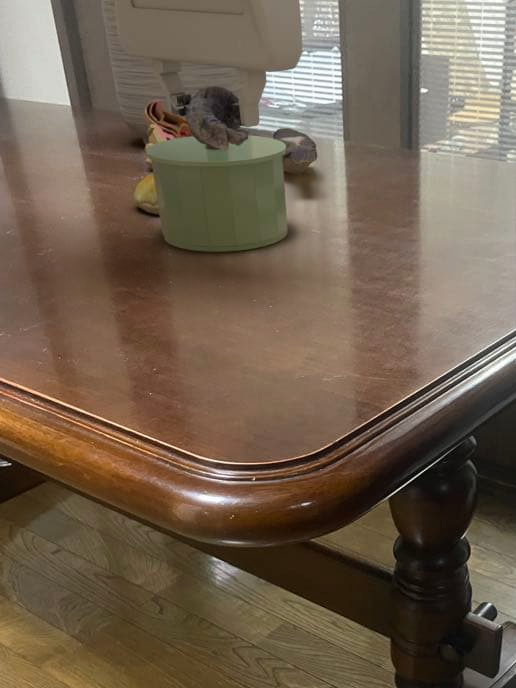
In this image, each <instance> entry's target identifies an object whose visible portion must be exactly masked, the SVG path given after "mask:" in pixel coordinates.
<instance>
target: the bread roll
mask: <svg viewBox="0 0 516 688" xmlns="http://www.w3.org/2000/svg"><path fill="white" fill-rule="evenodd" d="M133 198H134V199H133V200H134V203H135V205H136V206H137V207H138V208H139V209H141V210H143V211H144V212H147V213H149V214H152V215H157V216H158V215H159V216H160V214H159V208H158V201H157V195H156V188H155V181H154V175H153V173H151V174H149V175H147V176H146V177H145V178H143V179H142V180H141V181H140V182H139V183H138V184H137V185H136V188H135V191H134V193H133Z"/></svg>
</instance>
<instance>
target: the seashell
mask: <svg viewBox="0 0 516 688" xmlns="http://www.w3.org/2000/svg"><path fill="white" fill-rule="evenodd" d="M238 102H239V99H238V97H236V96H235V95H234V94H233V93H232V91H229V90H226V88H222V87H218V86H213V87H208V88H204V89H200V90H199V92H197V93H196V95H195V96H193V98H192V99H191V101H190V103H189V105H188V107H187V110H186V111H187V116H186V121H187V124H188V126H189V129H190V130H191V133H192V135H193V136H194V137H195V138H196V139H197V140H198V141H199V142H200V143H202V144H210V145H212V146H213V147H216V148H219V150H223V151H227V150H228V143H231V144H235V145H237V146H239V145H241V144H242V143H243V142H244V141H245V140H247V139H248V135H249V132H248V131H246V130H245V129H240V128H241V127H240V126H238V125H236V124H235V123H234V119H233V117H234V114H233V110H232V104H235V103H238ZM239 127H240V128H239Z"/></svg>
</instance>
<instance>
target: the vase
mask: <svg viewBox="0 0 516 688" xmlns="http://www.w3.org/2000/svg"><path fill="white" fill-rule="evenodd" d="M100 6H101V13H102V18H103V25H104V29H105V36H106V42H107V48H108V53H109V59H110V65H111V71H112V76H113V82H114V87H115V93H116V98H117V102H118V107H119V111H120V113H121V117H122V120H123V121H124V123H125V124H126V126H127V127H128V129H130V130H131V131H132V132H133V133H135V134H136V135H138V136H139V137H141V138H142V141H143V144H144V145H146V144H150V143H149V136H148V129H149V128H148V126H147V124H146V121H145V108H146V106H147V105H148V104H149V103H150V102H152V101H155V100H162V108H163V109H166V110H168V105H167V98H166V94H165V93H164V91H163V89H162V87H161V85H160V83H159V81H158V79H157V78H156V76H155V74H154V69H153V62H152V59H148V58H139V57H130V56H127V55H126V53H125V52H124V50H123V48H122V46H121V44H120V42H119V38H118V31H117V22H116V12H115V0H100ZM180 63H181V71H180V72H178V74H179V77H180V79H181V82H182V85H183V87H184V90H185V93H189V94H191V97H192V98H193V96H195V95H196V93H197V92H199V90H200V89H204V88H208V87H213V86H218V87H222V88H226V90H229V91H232V93H233V94H234V95H235V96H236V97H238V99H239V98H240V93H241V89H242V84H243V83H238V81H237V72H236V68H228V67H219V66H211V65H202V64H193V63H184V62H180ZM182 117H184V118H185V119H186V116H182ZM241 127H242V126H240V127H239V129H240V128H241Z"/></svg>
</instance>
